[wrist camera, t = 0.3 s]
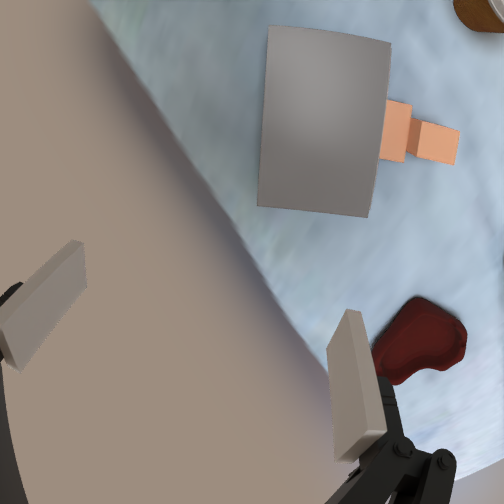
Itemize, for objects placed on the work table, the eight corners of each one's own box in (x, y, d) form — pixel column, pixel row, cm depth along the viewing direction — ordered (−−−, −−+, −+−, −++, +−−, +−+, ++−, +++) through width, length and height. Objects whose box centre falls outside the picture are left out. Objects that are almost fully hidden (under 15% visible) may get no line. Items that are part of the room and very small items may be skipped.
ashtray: (461, 277, 43) (474, 295, 39) (456, 346, 50) (465, 364, 46) (360, 307, 48) (365, 328, 43) (370, 371, 54) (374, 392, 50)
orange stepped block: (298, 146, 35) (300, 152, 31) (304, 86, 32) (306, 85, 28) (437, 169, 34) (451, 178, 30) (446, 114, 30) (462, 118, 27)
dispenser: (261, 186, 40) (256, 206, 34) (271, 36, 31) (268, 24, 25) (362, 198, 39) (375, 219, 33) (381, 52, 30) (400, 45, 24)
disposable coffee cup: (467, 51, 28) (522, 47, 17) (429, -11, 24) (474, -36, 14) (508, 33, 24) (562, 29, 14) (474, -26, 21) (521, -46, 11)
